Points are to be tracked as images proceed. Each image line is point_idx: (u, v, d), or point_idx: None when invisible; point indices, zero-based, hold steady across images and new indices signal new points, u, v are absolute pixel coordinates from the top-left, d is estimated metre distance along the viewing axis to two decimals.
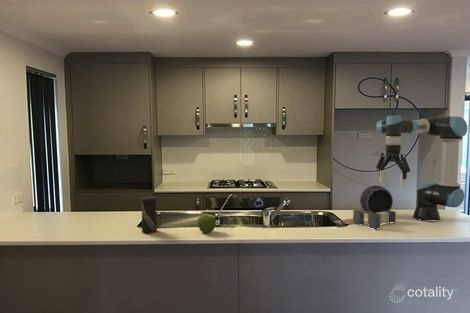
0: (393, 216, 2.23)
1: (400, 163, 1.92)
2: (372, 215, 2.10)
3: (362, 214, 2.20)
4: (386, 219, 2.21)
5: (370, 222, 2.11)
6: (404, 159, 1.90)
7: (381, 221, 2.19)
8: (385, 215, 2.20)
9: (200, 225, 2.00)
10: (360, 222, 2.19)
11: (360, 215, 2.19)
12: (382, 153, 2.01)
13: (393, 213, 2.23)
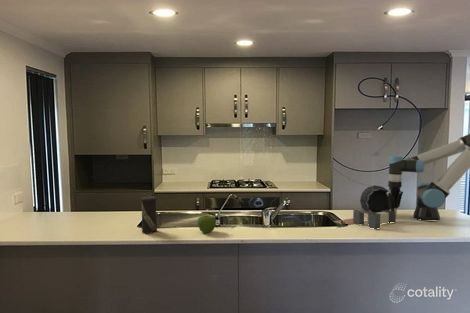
0: (393, 216, 2.23)
1: None
2: (372, 215, 2.10)
3: (362, 214, 2.20)
4: (386, 219, 2.21)
5: (370, 222, 2.11)
6: (388, 196, 2.24)
7: (381, 221, 2.19)
8: (385, 215, 2.20)
9: (200, 225, 2.00)
10: (360, 222, 2.19)
11: (360, 215, 2.19)
12: None
13: (393, 213, 2.23)
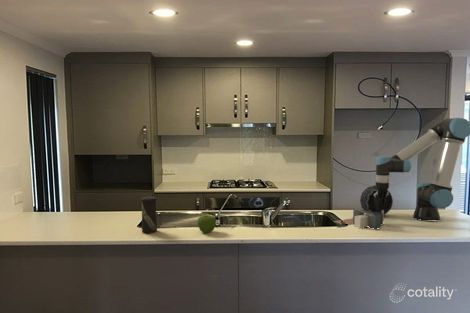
0: (380, 218, 2.18)
1: (379, 200, 2.21)
2: (372, 215, 2.10)
3: (362, 214, 2.20)
4: None
5: (370, 222, 2.11)
6: (375, 198, 2.19)
7: (368, 223, 2.14)
8: None
9: (200, 225, 2.00)
10: None
11: None
12: None
13: (380, 215, 2.18)
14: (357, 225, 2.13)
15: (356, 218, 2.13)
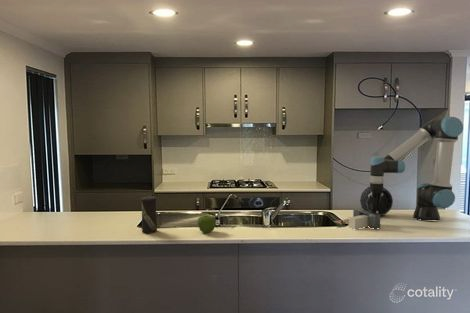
0: None
1: (373, 201, 2.19)
2: (372, 215, 2.10)
3: (362, 214, 2.20)
4: (368, 222, 2.14)
5: (370, 222, 2.11)
6: (369, 199, 2.17)
7: (363, 224, 2.11)
8: (367, 218, 2.13)
9: (200, 225, 2.00)
10: None
11: None
12: None
13: None
14: (352, 226, 2.10)
15: (351, 219, 2.10)
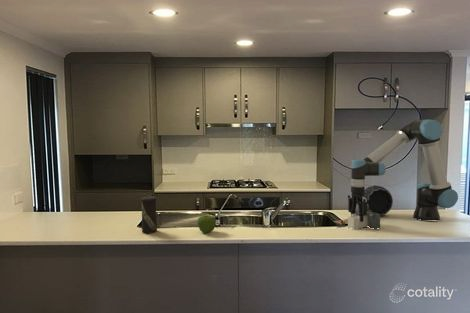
0: None
1: (361, 206, 2.09)
2: (372, 215, 2.10)
3: None
4: (367, 222, 2.14)
5: (370, 222, 2.11)
6: (365, 203, 2.07)
7: None
8: (366, 218, 2.13)
9: (200, 225, 2.00)
10: None
11: None
12: (348, 195, 2.16)
13: None
14: (350, 226, 2.11)
15: (349, 219, 2.11)
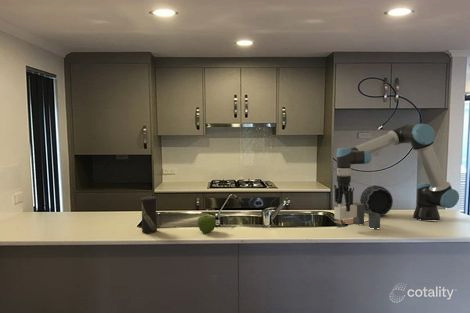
0: (362, 209, 2.10)
1: (347, 195, 2.04)
2: (372, 215, 2.10)
3: None
4: (354, 212, 2.08)
5: (370, 222, 2.11)
6: (351, 192, 2.01)
7: (349, 214, 2.06)
8: (353, 208, 2.08)
9: (200, 225, 2.00)
10: (360, 222, 2.19)
11: None
12: (334, 185, 2.11)
13: (362, 206, 2.10)
14: (337, 216, 2.05)
15: (336, 209, 2.06)
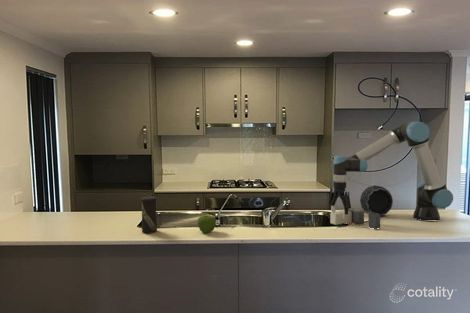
0: None
1: (344, 199, 2.18)
2: (372, 215, 2.10)
3: (362, 214, 2.20)
4: (349, 217, 2.23)
5: (370, 222, 2.11)
6: (347, 196, 2.15)
7: None
8: (348, 214, 2.23)
9: (200, 225, 2.00)
10: (360, 222, 2.19)
11: (360, 215, 2.19)
12: (331, 189, 2.26)
13: None
14: (333, 221, 2.20)
15: (332, 214, 2.21)
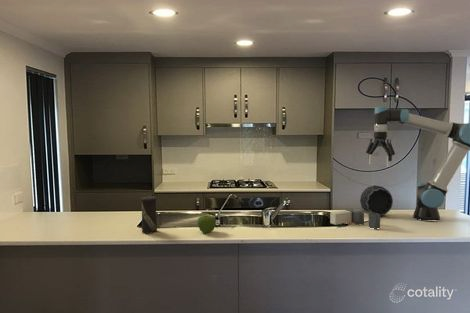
0: None
1: (386, 147, 2.23)
2: (372, 215, 2.10)
3: (362, 214, 2.20)
4: (349, 217, 2.23)
5: (370, 222, 2.11)
6: (389, 143, 2.21)
7: (343, 219, 2.21)
8: (348, 214, 2.23)
9: (200, 225, 2.00)
10: (360, 222, 2.19)
11: (360, 215, 2.19)
12: (371, 139, 2.32)
13: None
14: (333, 221, 2.20)
15: (332, 214, 2.21)
